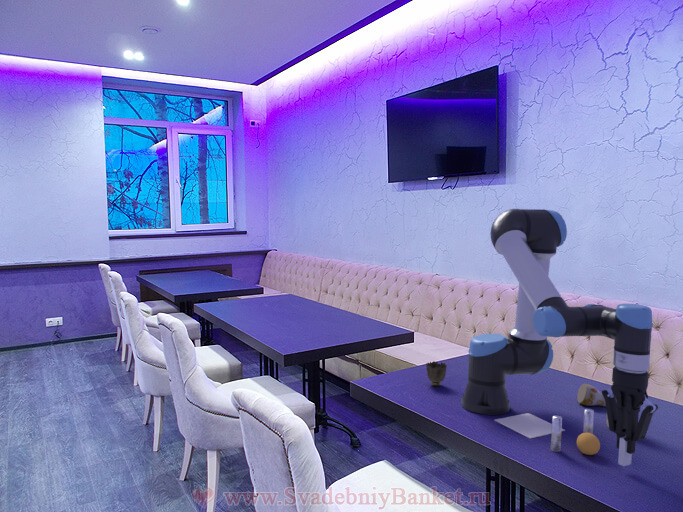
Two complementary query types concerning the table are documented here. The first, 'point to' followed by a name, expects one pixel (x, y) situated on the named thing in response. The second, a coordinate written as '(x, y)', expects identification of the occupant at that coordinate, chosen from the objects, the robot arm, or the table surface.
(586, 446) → the ball
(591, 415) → the post
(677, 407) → the table surface
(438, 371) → the cup
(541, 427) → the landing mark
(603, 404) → the mug
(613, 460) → the table surface
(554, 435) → the post
